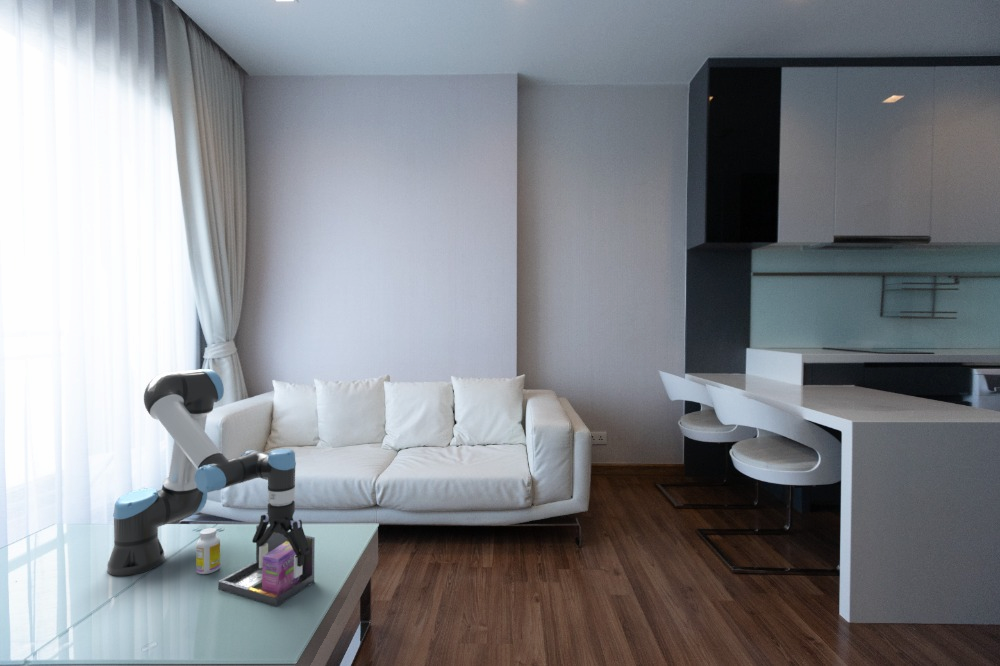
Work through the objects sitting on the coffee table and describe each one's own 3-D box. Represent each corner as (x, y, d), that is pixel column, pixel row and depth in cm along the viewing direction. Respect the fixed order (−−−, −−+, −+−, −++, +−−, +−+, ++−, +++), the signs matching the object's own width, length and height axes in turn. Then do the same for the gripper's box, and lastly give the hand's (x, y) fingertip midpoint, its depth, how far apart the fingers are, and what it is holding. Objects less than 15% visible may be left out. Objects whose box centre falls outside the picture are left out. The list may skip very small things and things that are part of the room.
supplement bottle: (222, 563, 168) (222, 525, 167) (217, 573, 162) (217, 533, 161) (199, 566, 166) (199, 527, 165) (193, 576, 160) (193, 536, 159)
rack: (218, 589, 152) (218, 543, 152) (258, 566, 166) (258, 524, 166) (276, 607, 144) (277, 558, 143) (314, 581, 158) (314, 537, 157)
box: (277, 598, 147) (278, 558, 147) (261, 595, 149) (261, 555, 148) (301, 580, 157) (301, 543, 157) (285, 578, 159) (285, 540, 158)
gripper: (240, 499, 153) (239, 567, 154) (304, 513, 144) (303, 586, 145) (260, 491, 160) (259, 557, 161) (323, 504, 151) (322, 574, 152)
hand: (280, 571), depth 153 cm, fingers open, 13 cm apart
